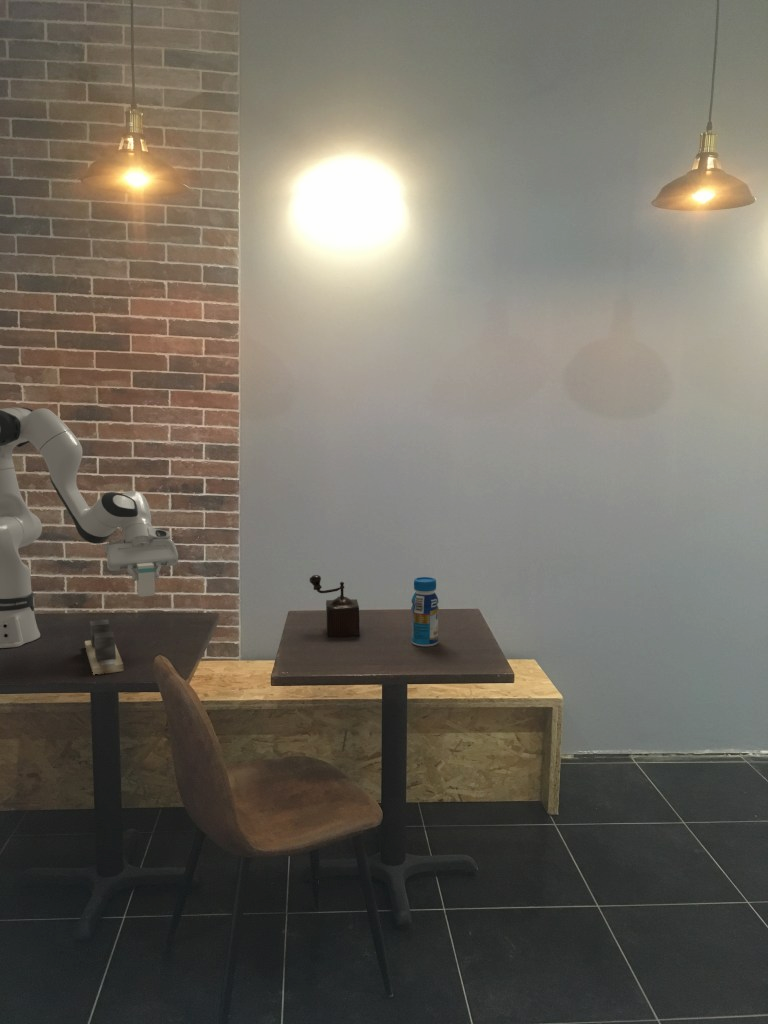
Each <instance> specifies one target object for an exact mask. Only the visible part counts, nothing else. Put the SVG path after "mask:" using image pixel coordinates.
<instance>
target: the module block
mask: <svg viewBox="0 0 768 1024" xmlns="http://www.w3.org/2000/svg"><path fill="white" fill-rule="evenodd" d="M136 568H137V569H136V573H138V580H137V581H136V585H137V586H136V587H137V595H138V597H141V598H142V597H151V596H156V583H155V580H156V579H155V578H154V571H155V567H154V564H153V563H152V562H151V563H139V564H136Z"/></svg>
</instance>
